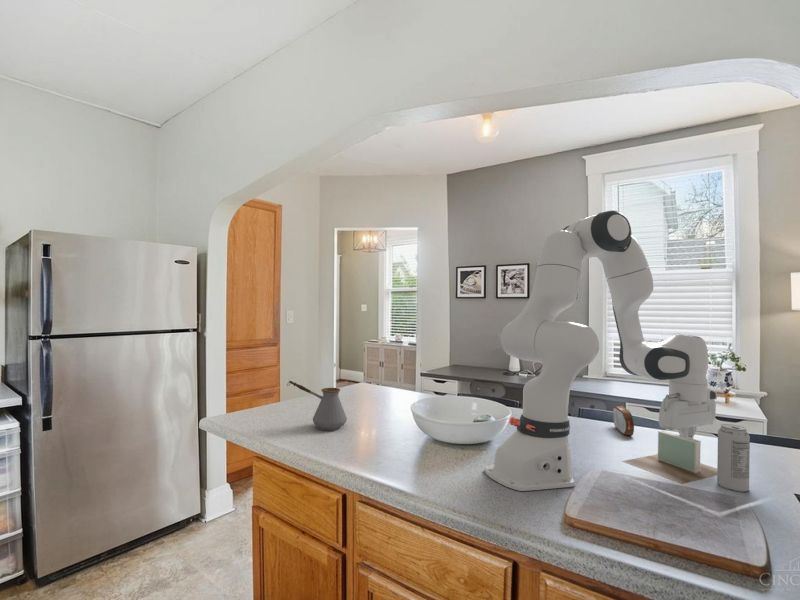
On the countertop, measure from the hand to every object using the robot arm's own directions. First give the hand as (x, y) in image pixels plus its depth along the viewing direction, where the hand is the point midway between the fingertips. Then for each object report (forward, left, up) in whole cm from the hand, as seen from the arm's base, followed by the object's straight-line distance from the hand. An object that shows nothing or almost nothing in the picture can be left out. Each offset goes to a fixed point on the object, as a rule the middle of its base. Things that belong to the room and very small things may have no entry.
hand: (686, 442), depth 115 cm
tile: (-4, 0, -6) cm, 7 cm away
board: (-6, 0, -6) cm, 9 cm away
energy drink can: (-6, -14, -7) cm, 16 cm away
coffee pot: (-86, +71, -7) cm, 111 cm away
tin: (+13, +29, -7) cm, 33 cm away
